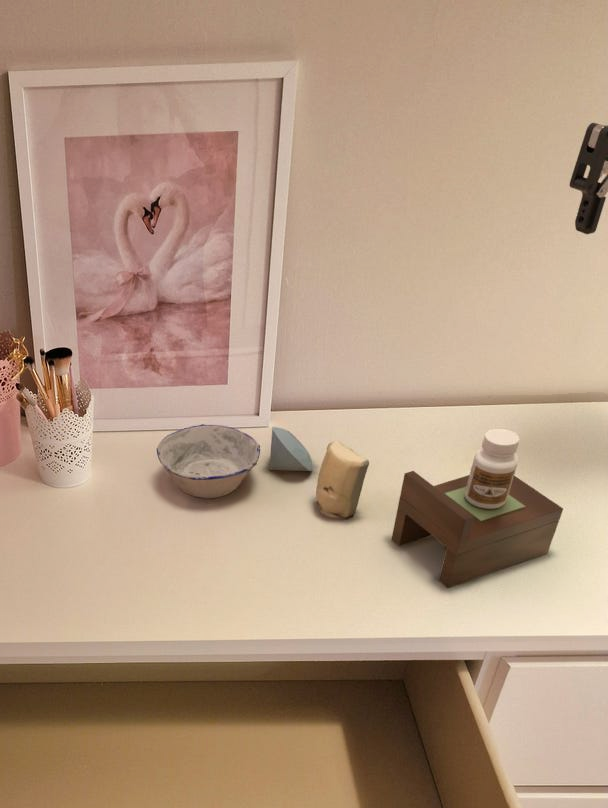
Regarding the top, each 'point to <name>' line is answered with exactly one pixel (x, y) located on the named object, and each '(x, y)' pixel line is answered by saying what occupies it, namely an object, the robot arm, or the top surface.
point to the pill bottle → (493, 469)
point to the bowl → (208, 459)
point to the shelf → (475, 526)
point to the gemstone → (288, 452)
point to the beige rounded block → (340, 481)
